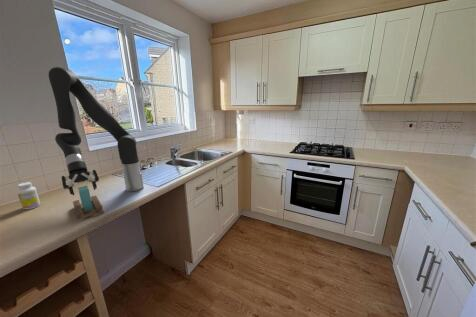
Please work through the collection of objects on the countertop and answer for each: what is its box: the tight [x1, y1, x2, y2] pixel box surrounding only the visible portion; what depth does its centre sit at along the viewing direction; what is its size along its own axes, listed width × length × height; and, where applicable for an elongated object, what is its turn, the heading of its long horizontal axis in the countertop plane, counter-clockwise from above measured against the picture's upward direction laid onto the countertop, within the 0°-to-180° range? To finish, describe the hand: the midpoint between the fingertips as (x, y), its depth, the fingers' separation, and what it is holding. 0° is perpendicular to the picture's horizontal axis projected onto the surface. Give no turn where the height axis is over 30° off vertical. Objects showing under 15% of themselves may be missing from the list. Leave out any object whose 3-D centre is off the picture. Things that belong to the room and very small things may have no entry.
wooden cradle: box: [72, 194, 105, 222], centre depth 99 cm, size 10×17×4 cm, turn 43°
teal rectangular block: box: [77, 185, 93, 212], centre depth 98 cm, size 4×5×11 cm, turn 43°
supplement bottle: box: [16, 181, 41, 210], centre depth 102 cm, size 7×7×13 cm
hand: (84, 191), depth 98 cm, fingers open, 8 cm apart
